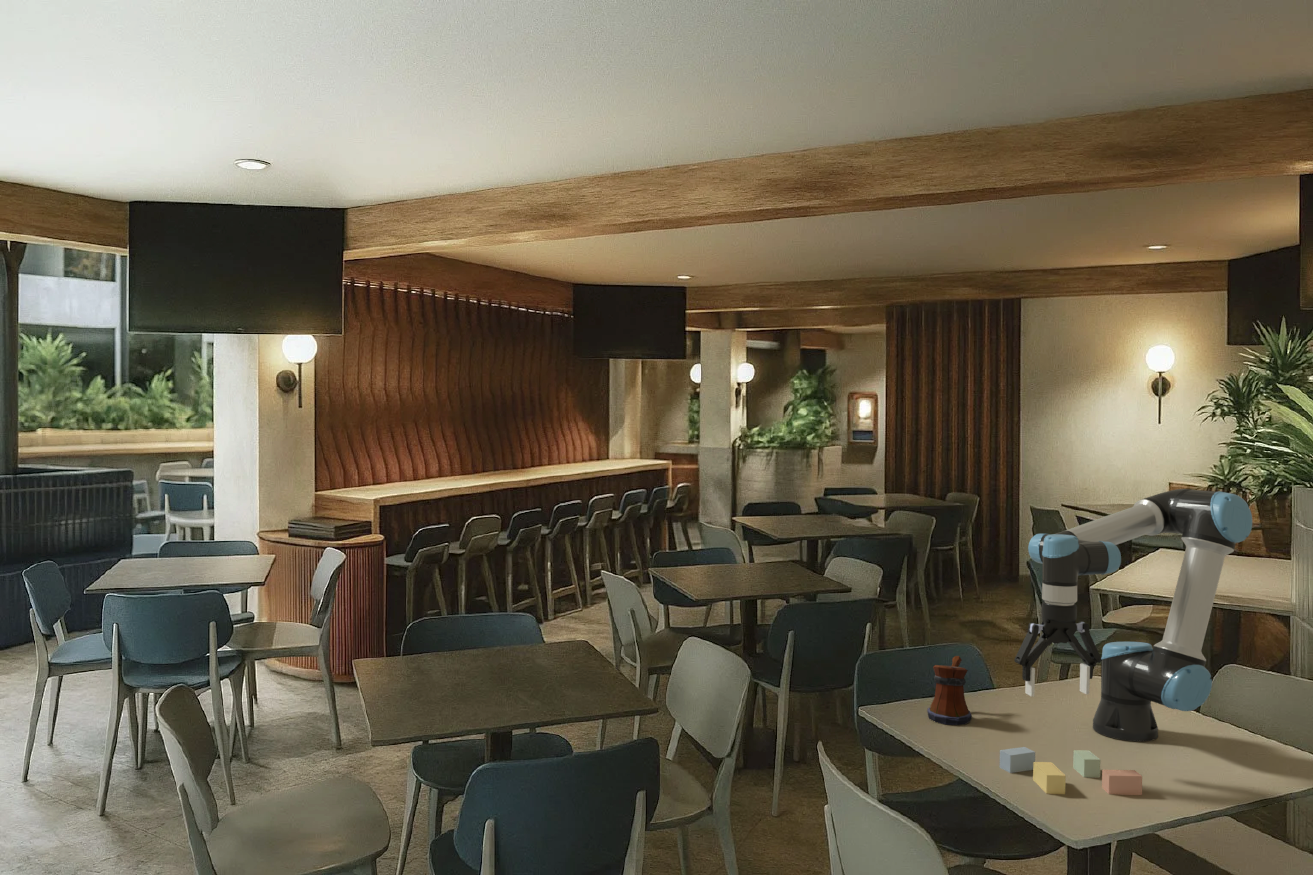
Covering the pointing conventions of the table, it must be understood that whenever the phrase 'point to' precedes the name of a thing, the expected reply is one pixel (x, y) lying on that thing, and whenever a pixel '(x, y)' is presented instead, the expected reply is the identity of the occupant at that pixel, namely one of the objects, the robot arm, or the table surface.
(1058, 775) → the ochre brick
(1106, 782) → the terracotta brick
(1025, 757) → the slate brick
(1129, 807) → the table surface
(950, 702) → the mug
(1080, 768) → the sage brick
